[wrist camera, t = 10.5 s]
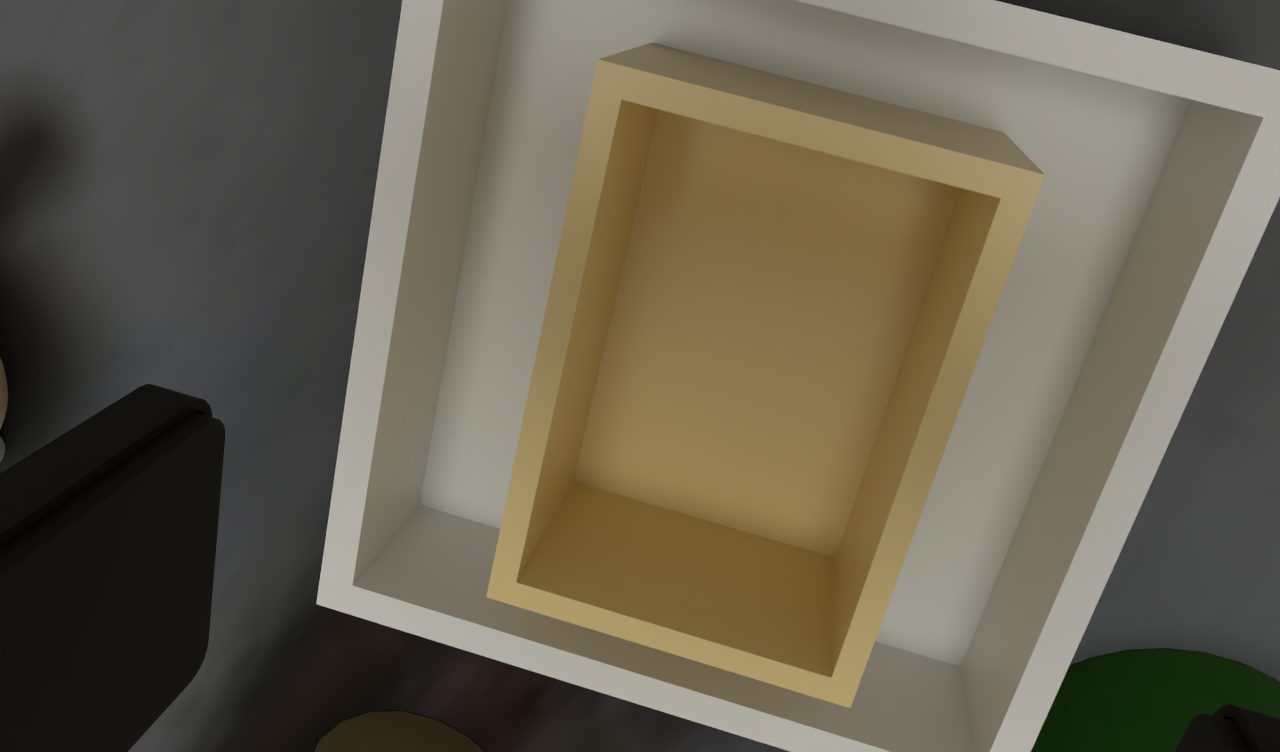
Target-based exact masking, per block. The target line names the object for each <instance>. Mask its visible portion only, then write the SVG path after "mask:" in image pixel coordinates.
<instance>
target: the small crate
mask: <svg viewBox="0 0 1280 752" xmlns="http://www.w3.org/2000/svg"><path fill="white" fill-rule="evenodd" d="M1044 177H1045V174H1044V173H1043V172H1042V171H1041V170H1040V169H1039V168H1038V167H1037V166H1036V165H1035V164H1034V163H1033V162H1032V161H1031V160H1030V159H1029V158H1028V157H1027V156H1026V155H1025V154H1024V153H1023V151H1022V150H1021V149H1020V148H1019V147H1018V146H1017V145H1016V144H1015V143H1014V142H1013V141H1012V140H1011V139H1010V138H1009V137H1008V136H1007V135H1006V134H1005V133H1004V132H1001V131H997V130H993V129H989V128H985V127H981V126H977V125H973V124H969V123H965V122H961V121H957V120H954V119H950V118H946V117H942V116H938V115H934V114H930V113H926V112H922V111H918V110H914V109H910V108H907V107H903V106H899V105H895V104H891V103H887V102H883V101H879V100H875V99H871V98H867V97H863V96H860V95H856V94H852V93H848V92H844V91H840V90H836V89H832V88H828V87H824V86H820V85H816V84H812V83H809V82H805V81H801V80H797V79H793V78H789V77H785V76H781V75H777V74H773V73H769V72H765V71H762V70H758V69H754V68H750V67H746V66H742V65H738V64H734V63H730V62H726V61H722V60H718V59H715V58H711V57H707V56H703V55H699V54H695V53H691V52H687V51H683V50H679V49H675V48H671V47H667V46H664V45H660V44H656V43H648V44H645V45H642V46H639V47H636V48H632V49H629V50H626V51H623V52H620V53H616V54H613V55H610V56H607V57H603V58H600V59H597V64H596V69H595V74H594V78H593V83H592V88H591V93H590V98H589V103H588V107H587V112H586V117H585V122H584V127H583V132H582V136H581V141H580V146H579V151H578V156H577V161H576V165H575V170H574V175H573V180H572V185H571V189H570V194H569V199H568V204H567V209H566V214H565V218H564V223H563V228H562V233H561V238H560V243H559V247H558V252H557V257H556V262H555V267H554V272H553V276H552V281H551V286H550V291H549V296H548V301H547V305H546V310H545V315H544V320H543V325H542V330H541V334H540V339H539V344H538V349H537V354H536V358H535V363H534V368H533V373H532V378H531V383H530V387H529V392H528V397H527V402H526V407H525V412H524V416H523V421H522V426H521V431H520V436H519V441H518V445H517V450H516V455H515V460H514V465H513V470H512V474H511V479H510V484H509V489H508V494H507V499H506V503H505V508H504V513H503V518H502V523H501V528H500V532H499V537H498V542H497V547H496V552H495V556H494V561H493V566H492V571H491V576H490V581H489V585H488V590H487V595H486V597H487V598H490V599H494V600H497V601H500V602H503V603H507V604H510V605H513V606H517V607H520V608H523V609H526V610H530V611H533V612H536V613H540V614H543V615H546V616H549V617H553V618H556V619H559V620H563V621H566V622H569V623H572V624H576V625H579V626H582V627H585V628H589V629H592V630H595V631H599V632H602V633H605V634H608V635H612V636H615V637H618V638H622V639H625V640H628V641H631V642H635V643H638V644H641V645H645V646H648V647H651V648H654V649H658V650H661V651H664V652H668V653H671V654H674V655H677V656H681V657H684V658H687V659H691V660H694V661H697V662H700V663H704V664H707V665H710V666H713V667H717V668H720V669H723V670H727V671H730V672H733V673H736V674H740V675H743V676H746V677H750V678H753V679H756V680H759V681H763V682H766V683H769V684H773V685H776V686H779V687H782V688H786V689H789V690H792V691H796V692H799V693H802V694H805V695H809V696H812V697H815V698H819V699H822V700H825V701H828V702H832V703H835V704H838V705H841V706H845V707H848V708H851V705H852V702H853V700H854V697H855V694H856V692H857V689H858V686H859V683H860V681H861V678H862V675H863V672H864V670H865V667H866V664H867V661H868V659H869V656H870V653H871V650H872V648H873V645H874V642H875V640H876V637H877V634H878V631H879V629H880V626H881V623H882V620H883V618H884V615H885V612H886V609H887V607H888V604H889V601H890V598H891V596H892V593H893V590H894V587H895V585H896V582H897V579H898V577H899V574H900V571H901V568H902V566H903V563H904V560H905V557H906V555H907V552H908V549H909V546H910V544H911V541H912V538H913V535H914V533H915V530H916V527H917V525H918V522H919V519H920V516H921V514H922V511H923V508H924V505H925V503H926V500H927V497H928V494H929V492H930V489H931V486H932V483H933V481H934V478H935V475H936V472H937V470H938V467H939V464H940V462H941V459H942V456H943V453H944V451H945V448H946V445H947V442H948V440H949V437H950V434H951V431H952V429H953V426H954V423H955V420H956V418H957V415H958V412H959V410H960V407H961V404H962V401H963V399H964V396H965V393H966V390H967V388H968V385H969V382H970V379H971V377H972V374H973V371H974V368H975V366H976V363H977V360H978V357H979V355H980V352H981V349H982V347H983V344H984V341H985V338H986V336H987V333H988V330H989V327H990V325H991V322H992V319H993V316H994V314H995V311H996V308H997V305H998V303H999V300H1000V297H1001V295H1002V292H1003V289H1004V286H1005V284H1006V281H1007V278H1008V275H1009V273H1010V270H1011V267H1012V264H1013V262H1014V259H1015V256H1016V253H1017V251H1018V248H1019V245H1020V242H1021V240H1022V237H1023V234H1024V232H1025V229H1026V226H1027V223H1028V221H1029V218H1030V215H1031V212H1032V210H1033V207H1034V204H1035V201H1036V199H1037V196H1038V193H1039V190H1040V188H1041V185H1042V182H1043V180H1044Z"/></svg>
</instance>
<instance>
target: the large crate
mask: <svg viewBox="0 0 1280 752" xmlns="http://www.w3.org/2000/svg"><path fill="white" fill-rule="evenodd" d="M648 43H656V44H660V45H664V46H667V47H671V48H675V49H679V50H683V51H687V52H691V53H695V54H699V55H703V56H707V57H711V58H715V59H718V60H722V61H726V62H730V63H734V64H738V65H742V66H746V67H750V68H754V69H758V70H762V71H765V72H769V73H773V74H777V75H781V76H785V77H789V78H793V79H797V80H801V81H805V82H809V83H812V84H816V85H820V86H824V87H828V88H832V89H836V90H840V91H844V92H848V93H852V94H856V95H860V96H863V97H867V98H871V99H875V100H879V101H883V102H887V103H891V104H895V105H899V106H903V107H907V108H910V109H914V110H918V111H922V112H926V113H930V114H934V115H938V116H942V117H946V118H950V119H954V120H957V121H961V122H965V123H969V124H973V125H977V126H981V127H985V128H989V129H993V130H997V131H1001V132H1004V133H1005V134H1006V135H1007V136H1008V137H1009V138H1010V139H1011V140H1012V141H1013V142H1014V143H1015V144H1016V145H1017V146H1018V147H1019V148H1020V149H1021V150H1022V151H1023V153H1024V154H1025V155H1026V156H1027V157H1028V158H1029V159H1030V160H1031V161H1032V162H1033V163H1034V164H1035V165H1036V166H1037V167H1038V168H1039V169H1040V170H1041V171H1042V172H1043V173H1044V174H1045V177H1044V180H1043V182H1042V185H1041V188H1040V190H1039V193H1038V196H1037V199H1036V201H1035V204H1034V207H1033V210H1032V212H1031V215H1030V218H1029V221H1028V223H1027V226H1026V229H1025V232H1024V234H1023V237H1022V240H1021V242H1020V245H1019V248H1018V251H1017V253H1016V256H1015V259H1014V262H1013V264H1012V267H1011V270H1010V273H1009V275H1008V278H1007V281H1006V284H1005V286H1004V289H1003V292H1002V295H1001V297H1000V300H999V303H998V305H997V308H996V311H995V314H994V316H993V319H992V322H991V325H990V327H989V330H988V333H987V336H986V338H985V341H984V344H983V347H982V349H981V352H980V355H979V357H978V360H977V363H976V366H975V368H974V371H973V374H972V377H971V379H970V382H969V385H968V388H967V390H966V393H965V396H964V399H963V401H962V404H961V407H960V410H959V412H958V415H957V418H956V420H955V423H954V426H953V429H952V431H951V434H950V437H949V440H948V442H947V445H946V448H945V451H944V453H943V456H942V459H941V462H940V464H939V467H938V470H937V472H936V475H935V478H934V481H933V483H932V486H931V489H930V492H929V494H928V497H927V500H926V503H925V505H924V508H923V511H922V514H921V516H920V519H919V522H918V525H917V527H916V530H915V533H914V535H913V538H912V541H911V544H910V546H909V549H908V552H907V555H906V557H905V560H904V563H903V566H902V568H901V571H900V574H899V577H898V579H897V582H896V585H895V587H894V590H893V593H892V596H891V598H890V601H889V604H888V607H887V609H886V612H885V615H884V618H883V620H882V623H881V626H880V629H879V631H878V634H877V637H876V640H875V642H874V645H873V648H872V650H871V653H870V656H869V659H868V661H867V664H866V667H865V670H864V672H863V675H862V678H861V681H860V683H859V686H858V689H857V692H856V694H855V697H854V700H853V702H852V705H851V708H848V707H845V706H841V705H838V704H835V703H832V702H828V701H825V700H822V699H819V698H815V697H812V696H809V695H805V694H802V693H799V692H796V691H792V690H789V689H786V688H782V687H779V686H776V685H773V684H769V683H766V682H763V681H759V680H756V679H753V678H750V677H746V676H743V675H740V674H736V673H733V672H730V671H727V670H723V669H720V668H717V667H713V666H710V665H707V664H704V663H700V662H697V661H694V660H691V659H687V658H684V657H681V656H677V655H674V654H671V653H668V652H664V651H661V650H658V649H654V648H651V647H648V646H645V645H641V644H638V643H635V642H631V641H628V640H625V639H622V638H618V637H615V636H612V635H608V634H605V633H602V632H599V631H595V630H592V629H589V628H585V627H582V626H579V625H576V624H572V623H569V622H566V621H563V620H559V619H556V618H553V617H549V616H546V615H543V614H540V613H536V612H533V611H530V610H526V609H523V608H520V607H517V606H513V605H510V604H507V603H503V602H500V601H497V600H494V599H490V598H487V597H486V595H487V590H488V585H489V581H490V576H491V571H492V566H493V561H494V556H495V552H496V547H497V542H498V537H499V532H500V528H501V523H502V518H503V513H504V508H505V503H506V499H507V494H508V489H509V484H510V479H511V474H512V470H513V465H514V460H515V455H516V450H517V445H518V441H519V436H520V431H521V426H522V421H523V416H524V412H525V407H526V402H527V397H528V392H529V387H530V383H531V378H532V373H533V368H534V363H535V358H536V354H537V349H538V344H539V339H540V334H541V330H542V325H543V320H544V315H545V310H546V305H547V301H548V296H549V291H550V286H551V281H552V276H553V272H554V267H555V262H556V257H557V252H558V247H559V243H560V238H561V233H562V228H563V223H564V218H565V214H566V209H567V204H568V199H569V194H570V189H571V185H572V180H573V175H574V170H575V165H576V161H577V156H578V151H579V146H580V141H581V136H582V132H583V127H584V122H585V117H586V112H587V107H588V103H589V98H590V93H591V88H592V83H593V78H594V74H595V69H596V64H597V59H600V58H603V57H607V56H610V55H613V54H616V53H620V52H623V51H626V50H629V49H632V48H636V47H639V46H642V45H645V44H648ZM1279 197H1280V70H1276V69H1272V68H1268V67H1264V66H1260V65H1256V64H1251V63H1247V62H1243V61H1239V60H1235V59H1231V58H1227V57H1223V56H1219V55H1215V54H1211V53H1207V52H1203V51H1199V50H1195V49H1191V48H1187V47H1182V46H1178V45H1174V44H1170V43H1166V42H1162V41H1158V40H1154V39H1150V38H1146V37H1142V36H1138V35H1134V34H1130V33H1126V32H1122V31H1118V30H1113V29H1109V28H1105V27H1101V26H1097V25H1093V24H1089V23H1085V22H1081V21H1077V20H1073V19H1069V18H1065V17H1061V16H1057V15H1053V14H1049V13H1044V12H1040V11H1036V10H1032V9H1028V8H1024V7H1020V6H1016V5H1012V4H1008V3H1004V2H1000V1H996V0H402V7H401V14H400V21H399V29H398V36H397V43H396V50H395V57H394V64H393V71H392V78H391V85H390V92H389V99H388V106H387V113H386V120H385V127H384V134H383V141H382V148H381V155H380V162H379V169H378V176H377V183H376V190H375V197H374V204H373V211H372V218H371V225H370V232H369V239H368V246H367V253H366V260H365V267H364V274H363V281H362V288H361V295H360V302H359V309H358V316H357V323H356V330H355V337H354V344H353V351H352V358H351V365H350V372H349V379H348V386H347V393H346V400H345V407H344V414H343V421H342V428H341V435H340V442H339V449H338V456H337V463H336V470H335V477H334V484H333V491H332V498H331V505H330V512H329V519H328V526H327V533H326V540H325V547H324V554H323V561H322V568H321V575H320V582H319V589H318V596H317V603H316V604H318V605H321V606H324V607H327V608H331V609H334V610H337V611H340V612H343V613H347V614H350V615H353V616H356V617H360V618H363V619H366V620H369V621H372V622H376V623H379V624H382V625H385V626H389V627H392V628H395V629H398V630H401V631H405V632H408V633H411V634H414V635H417V636H421V637H424V638H427V639H430V640H434V641H437V642H440V643H443V644H446V645H450V646H453V647H456V648H459V649H462V650H466V651H469V652H472V653H475V654H479V655H482V656H485V657H488V658H491V659H495V660H498V661H501V662H504V663H508V664H511V665H514V666H517V667H520V668H524V669H527V670H530V671H533V672H536V673H540V674H543V675H546V676H549V677H553V678H556V679H559V680H562V681H565V682H569V683H572V684H575V685H578V686H582V687H585V688H588V689H591V690H594V691H598V692H601V693H604V694H607V695H610V696H614V697H617V698H620V699H623V700H627V701H630V702H633V703H636V704H639V705H643V706H646V707H649V708H652V709H655V710H659V711H662V712H665V713H668V714H672V715H675V716H678V717H681V718H684V719H688V720H691V721H694V722H697V723H701V724H704V725H707V726H710V727H713V728H717V729H720V730H723V731H726V732H729V733H733V734H736V735H739V736H742V737H746V738H749V739H752V740H755V741H758V742H762V743H765V744H768V745H771V746H775V747H778V748H781V749H784V750H787V751H791V752H1031V750H1032V748H1033V746H1034V743H1035V741H1036V739H1037V737H1038V735H1039V732H1040V730H1041V728H1042V726H1043V723H1044V721H1045V719H1046V717H1047V714H1048V712H1049V710H1050V708H1051V706H1052V703H1053V701H1054V699H1055V697H1056V694H1057V692H1058V690H1059V688H1060V686H1061V683H1062V681H1063V679H1064V677H1065V674H1066V672H1067V670H1068V668H1069V665H1070V663H1071V661H1072V659H1073V657H1074V654H1075V652H1076V650H1077V648H1078V645H1079V643H1080V641H1081V639H1082V636H1083V634H1084V632H1085V630H1086V628H1087V625H1088V623H1089V621H1090V619H1091V616H1092V614H1093V612H1094V610H1095V608H1096V605H1097V603H1098V601H1099V599H1100V596H1101V594H1102V592H1103V590H1104V587H1105V585H1106V583H1107V581H1108V579H1109V576H1110V574H1111V572H1112V570H1113V567H1114V565H1115V563H1116V561H1117V558H1118V556H1119V554H1120V552H1121V550H1122V547H1123V545H1124V543H1125V541H1126V538H1127V536H1128V534H1129V532H1130V530H1131V527H1132V525H1133V523H1134V521H1135V518H1136V516H1137V514H1138V512H1139V509H1140V507H1141V505H1142V503H1143V501H1144V498H1145V496H1146V494H1147V492H1148V489H1149V487H1150V485H1151V483H1152V480H1153V478H1154V476H1155V474H1156V472H1157V469H1158V467H1159V465H1160V463H1161V460H1162V458H1163V456H1164V454H1165V452H1166V449H1167V447H1168V445H1169V443H1170V440H1171V438H1172V436H1173V434H1174V431H1175V429H1176V427H1177V425H1178V423H1179V420H1180V418H1181V416H1182V414H1183V411H1184V409H1185V407H1186V405H1187V402H1188V400H1189V398H1190V396H1191V394H1192V391H1193V389H1194V387H1195V385H1196V382H1197V380H1198V378H1199V376H1200V374H1201V371H1202V369H1203V367H1204V365H1205V362H1206V360H1207V358H1208V356H1209V353H1210V351H1211V349H1212V347H1213V345H1214V342H1215V340H1216V338H1217V336H1218V333H1219V331H1220V329H1221V327H1222V324H1223V322H1224V320H1225V318H1226V316H1227V313H1228V311H1229V309H1230V307H1231V304H1232V302H1233V300H1234V298H1235V296H1236V293H1237V291H1238V289H1239V287H1240V284H1241V282H1242V280H1243V278H1244V275H1245V273H1246V271H1247V269H1248V267H1249V264H1250V262H1251V260H1252V258H1253V255H1254V253H1255V251H1256V249H1257V246H1258V244H1259V242H1260V240H1261V238H1262V235H1263V233H1264V231H1265V229H1266V226H1267V224H1268V222H1269V220H1270V218H1271V215H1272V213H1273V211H1274V209H1275V206H1276V204H1277V202H1278V200H1279Z"/></svg>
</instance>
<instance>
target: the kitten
mask: <svg viewBox="0 0 1280 752" xmlns="http://www.w3.org/2000/svg"><path fill="white" fill-rule="evenodd" d="M7 404H8V387H7V380H6V375H5V370H4V367H3V364H2V360H1V358H0V429H1V427H2V424H3V421H4V418H5V415H6V410H7ZM4 454H5V444H4V441H3V439H2V438H1V437H0V462H1V460H2V459H3V457H4Z"/></svg>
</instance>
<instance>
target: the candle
mask: <svg viewBox="0 0 1280 752" xmlns="http://www.w3.org/2000/svg"><path fill="white" fill-rule="evenodd" d="M1229 704H1232V705H1236V706H1239V707H1242V708H1246V709H1249V710H1253V711H1256V712H1259V713H1263V714H1266V715H1269V716H1273V717H1276V718H1280V682H1278V681H1277V680H1276V679H1274V678H1272V677H1270V676H1268V675H1266V674H1264V673H1262V672H1260V671H1257V670H1255V669H1253V668H1251V667H1249V666H1247V665H1245V664H1243V663H1240V662H1237V661H1233V660H1230V659H1226V658H1223V657H1219V656H1216V655H1212V654H1209V653H1205V652H1197V651H1188V650H1179V649H1170V648H1157V649H1135V650H1125V651H1120V652H1115V653H1110V654H1105V655H1101V656H1096V657H1091V658H1088V659H1086V660H1083V661H1081V662H1078V663H1075V664H1073V665H1070V666H1069V668H1068V670H1067V672H1066V674H1065V677H1064V679H1063V681H1062V683H1061V686H1060V688H1059V690H1058V692H1057V694H1056V697H1055V699H1054V701H1053V703H1052V706H1051V708H1050V710H1049V712H1048V714H1047V717H1046V719H1045V721H1044V723H1043V726H1042V728H1041V730H1040V732H1039V735H1038V737H1037V739H1036V741H1035V743H1034V746H1033V748H1032V750H1031V752H1175V750H1176V748H1177V746H1178V744H1179V743H1180V741H1181V739H1182V737H1183V735H1184V733H1185V731H1186V729H1187V728H1188V726H1189V724H1190V723H1191V721H1192V720H1193V718H1195V717H1196V716H1197V715H1198V714H1202V713H1206V714H1209V715H1214V713H1215V712H1216V711H1217V710H1218V709H1220V708H1221V707H1222V706H1224V705H1229Z"/></svg>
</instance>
